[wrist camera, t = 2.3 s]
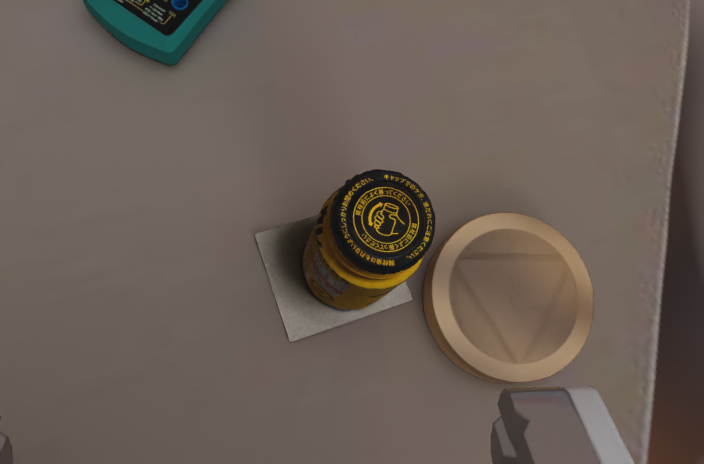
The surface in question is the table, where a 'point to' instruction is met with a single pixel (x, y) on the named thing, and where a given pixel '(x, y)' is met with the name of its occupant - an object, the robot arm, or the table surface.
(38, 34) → the table surface
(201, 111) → the table surface
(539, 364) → the coaster
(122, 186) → the table surface
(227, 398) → the table surface
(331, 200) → the condiment
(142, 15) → the digital multimeter
